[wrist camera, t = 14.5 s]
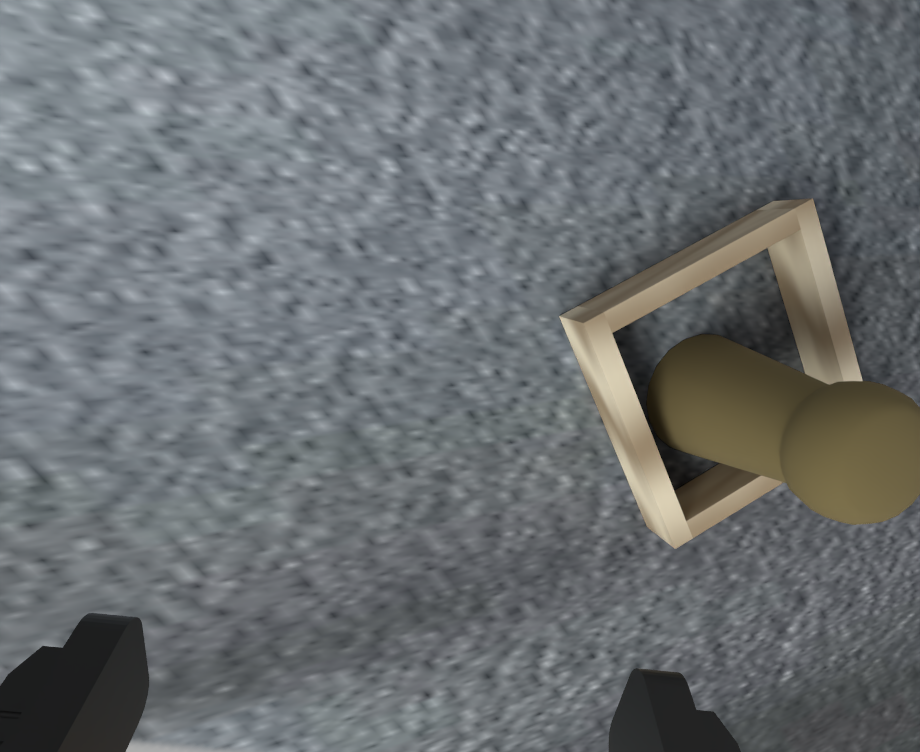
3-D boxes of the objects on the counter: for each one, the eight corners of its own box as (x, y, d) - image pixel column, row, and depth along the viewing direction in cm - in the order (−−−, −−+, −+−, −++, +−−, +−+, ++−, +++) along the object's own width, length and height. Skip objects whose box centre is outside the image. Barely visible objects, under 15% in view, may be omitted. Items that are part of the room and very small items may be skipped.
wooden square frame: (559, 316, 30) (847, 399, 15) (786, 193, 32) (1247, 157, 17) (677, 599, 35) (982, 874, 20) (867, 479, 37) (1278, 648, 22)
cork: (735, 313, 33) (952, 350, 22) (765, 419, 34) (979, 500, 24) (630, 366, 32) (805, 431, 21) (667, 473, 33) (845, 581, 23)
